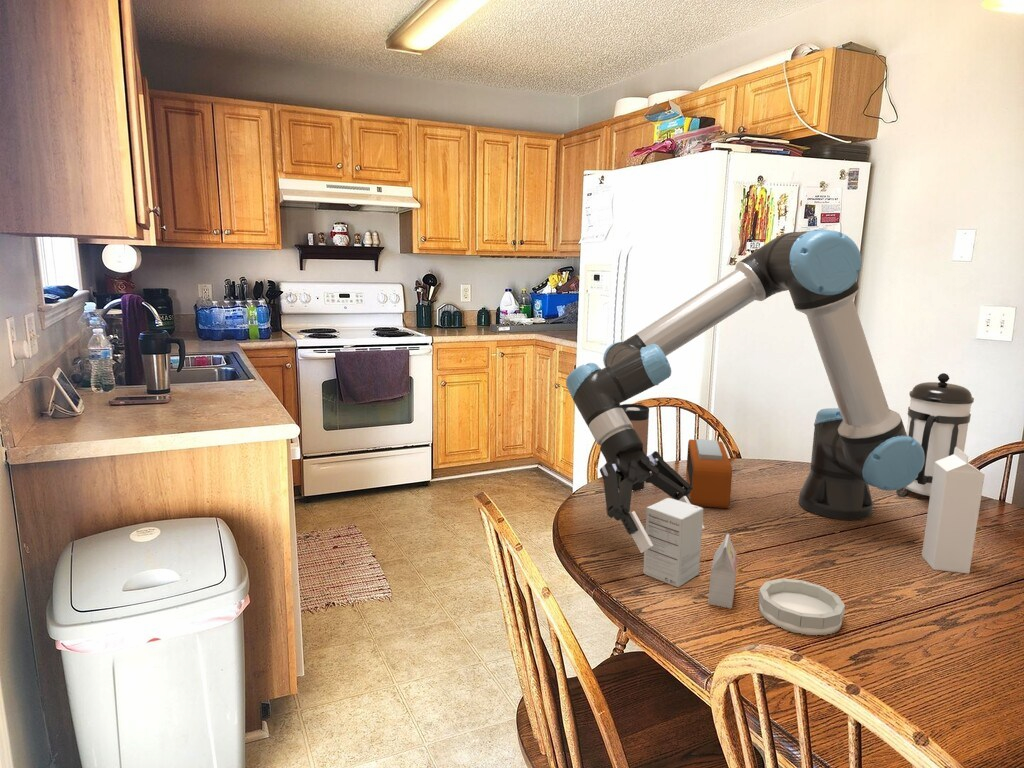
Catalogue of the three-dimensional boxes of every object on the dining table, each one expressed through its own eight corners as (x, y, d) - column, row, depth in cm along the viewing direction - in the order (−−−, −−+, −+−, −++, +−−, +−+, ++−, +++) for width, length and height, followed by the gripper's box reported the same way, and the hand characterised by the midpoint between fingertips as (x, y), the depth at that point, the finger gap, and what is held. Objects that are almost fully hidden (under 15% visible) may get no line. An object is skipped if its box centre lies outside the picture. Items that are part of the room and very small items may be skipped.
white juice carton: (708, 604, 107) (712, 546, 106) (712, 585, 114) (716, 530, 112) (731, 608, 106) (736, 550, 104) (734, 589, 112) (739, 534, 110)
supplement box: (664, 561, 123) (668, 496, 120) (700, 575, 117) (705, 507, 115) (641, 573, 118) (645, 506, 115) (677, 588, 112) (682, 518, 110)
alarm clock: (685, 475, 173) (688, 433, 171) (719, 477, 171) (722, 435, 169) (690, 507, 150) (694, 459, 148) (729, 511, 148) (733, 462, 146)
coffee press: (875, 484, 168) (890, 367, 162) (939, 485, 167) (956, 368, 162) (914, 509, 151) (932, 380, 145) (985, 511, 150) (1006, 381, 145)
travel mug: (643, 481, 166) (647, 404, 163) (646, 492, 159) (651, 411, 155) (612, 480, 167) (616, 403, 163) (614, 490, 160) (618, 410, 156)
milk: (932, 570, 121) (948, 454, 117) (921, 556, 127) (935, 445, 123) (970, 574, 119) (987, 456, 115) (957, 559, 125) (973, 447, 121)
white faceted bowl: (827, 599, 110) (829, 582, 109) (853, 639, 98) (855, 620, 97) (752, 592, 111) (753, 576, 111) (768, 631, 100) (770, 613, 99)
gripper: (650, 438, 135) (705, 532, 125) (556, 458, 120) (611, 566, 111) (672, 418, 129) (731, 515, 120) (576, 436, 115) (636, 548, 106)
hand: (673, 540), depth 116 cm, fingers open, 13 cm apart
